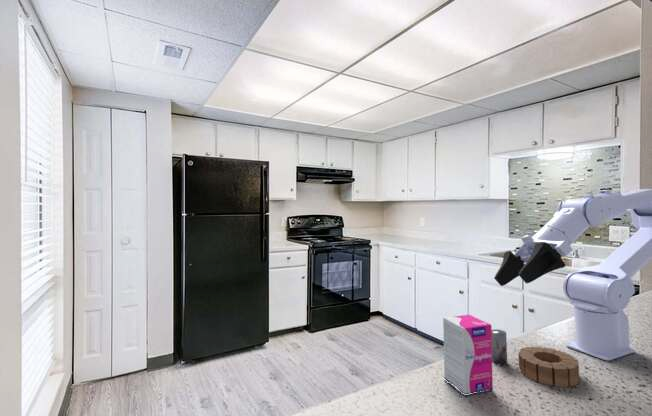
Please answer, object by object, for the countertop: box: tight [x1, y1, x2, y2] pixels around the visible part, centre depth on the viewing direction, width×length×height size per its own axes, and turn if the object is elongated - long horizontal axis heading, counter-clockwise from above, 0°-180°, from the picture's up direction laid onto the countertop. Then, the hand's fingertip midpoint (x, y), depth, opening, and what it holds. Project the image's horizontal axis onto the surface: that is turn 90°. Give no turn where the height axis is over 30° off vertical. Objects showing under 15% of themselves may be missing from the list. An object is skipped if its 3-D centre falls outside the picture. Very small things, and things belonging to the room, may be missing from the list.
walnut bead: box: [518, 346, 580, 388], centre depth 60 cm, size 9×9×3 cm
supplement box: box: [442, 314, 494, 394], centre depth 57 cm, size 6×6×12 cm
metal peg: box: [492, 328, 508, 366], centre depth 65 cm, size 3×3×6 cm
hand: (510, 280), depth 63 cm, fingers open, 7 cm apart
